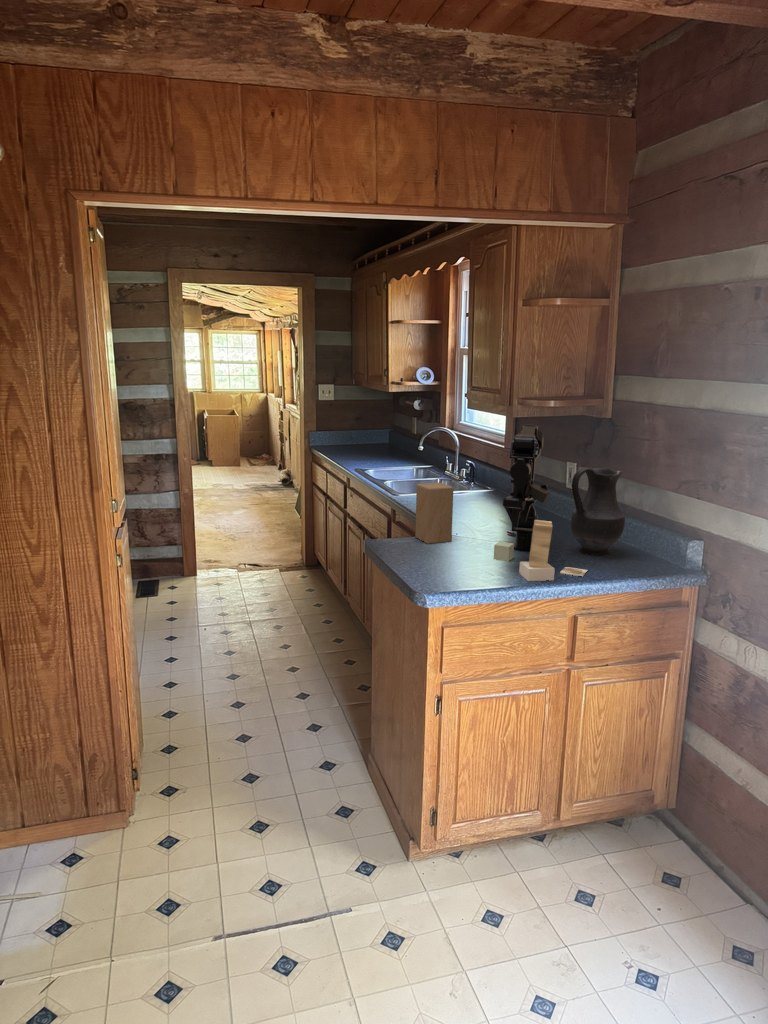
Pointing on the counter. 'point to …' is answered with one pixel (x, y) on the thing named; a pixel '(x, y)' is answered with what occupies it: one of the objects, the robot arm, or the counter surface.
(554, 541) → the counter surface
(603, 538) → the pitcher
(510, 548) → the sage cube
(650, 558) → the counter surface
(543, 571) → the cream base block
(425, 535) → the wooden block
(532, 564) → the maple block
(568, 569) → the tile
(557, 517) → the counter surface
